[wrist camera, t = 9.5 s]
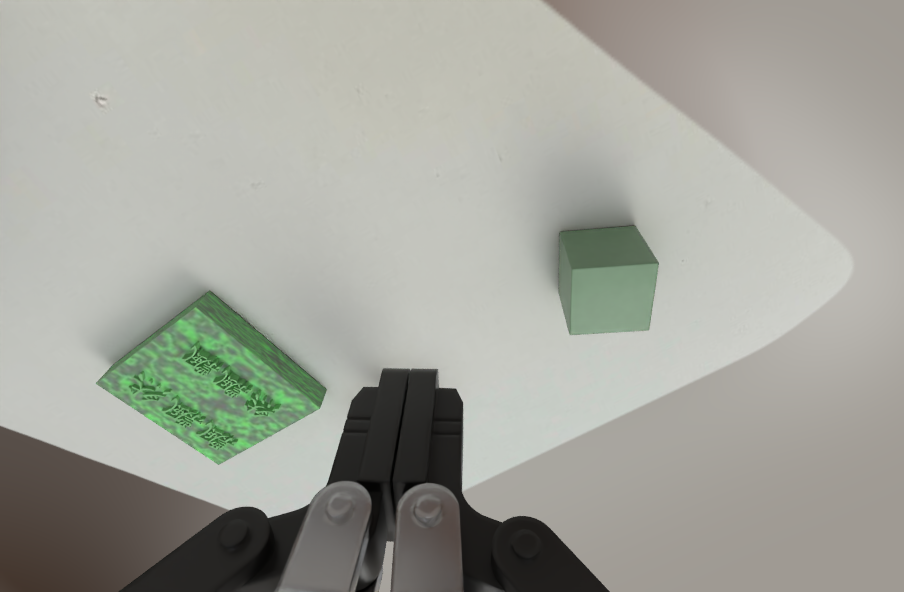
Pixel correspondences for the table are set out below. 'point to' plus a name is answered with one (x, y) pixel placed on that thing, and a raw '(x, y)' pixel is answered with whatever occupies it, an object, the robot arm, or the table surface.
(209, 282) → the table surface
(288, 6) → the table surface
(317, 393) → the green jade tablet
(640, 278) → the block
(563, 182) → the table surface
